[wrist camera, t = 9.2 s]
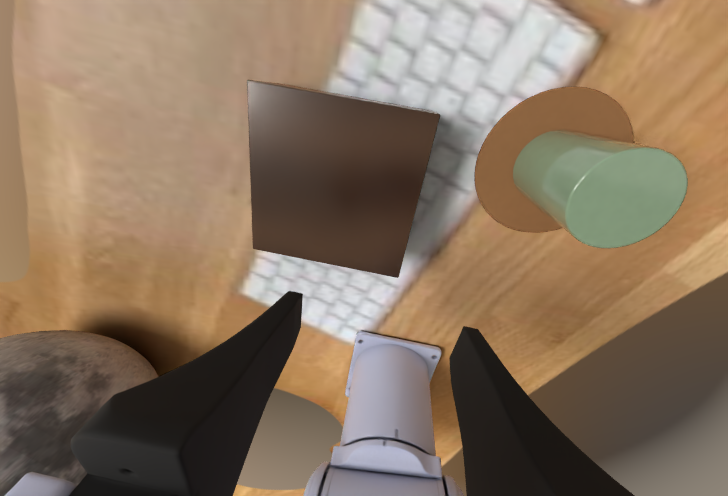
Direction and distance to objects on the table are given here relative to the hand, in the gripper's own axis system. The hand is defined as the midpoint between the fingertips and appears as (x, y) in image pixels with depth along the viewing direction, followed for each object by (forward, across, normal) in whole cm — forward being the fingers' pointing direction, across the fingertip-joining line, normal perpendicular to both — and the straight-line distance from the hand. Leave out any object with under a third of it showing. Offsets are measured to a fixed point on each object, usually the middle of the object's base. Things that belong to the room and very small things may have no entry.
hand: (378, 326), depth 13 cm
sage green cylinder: (+10, -9, -6) cm, 15 cm away
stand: (+10, +4, -3) cm, 12 cm away
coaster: (+10, -9, -6) cm, 15 cm away
